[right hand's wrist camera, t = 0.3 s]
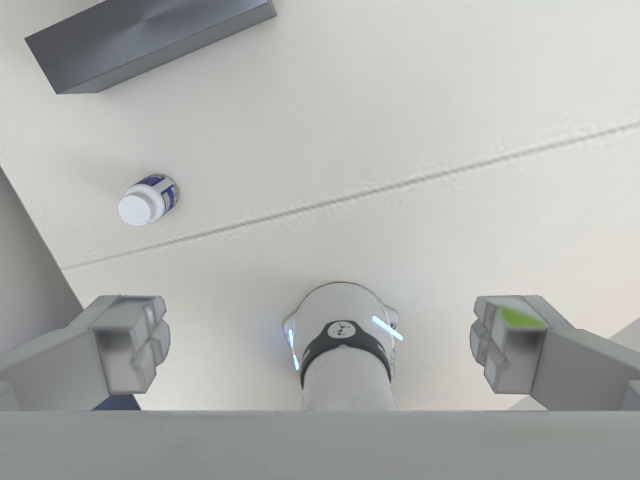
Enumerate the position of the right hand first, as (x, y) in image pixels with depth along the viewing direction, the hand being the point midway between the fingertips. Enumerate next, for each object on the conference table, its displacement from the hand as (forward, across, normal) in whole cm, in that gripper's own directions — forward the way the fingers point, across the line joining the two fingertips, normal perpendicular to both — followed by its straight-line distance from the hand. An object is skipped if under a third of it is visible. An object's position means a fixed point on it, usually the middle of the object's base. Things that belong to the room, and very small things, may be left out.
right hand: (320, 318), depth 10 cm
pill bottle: (+46, -23, -8) cm, 52 cm away
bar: (+46, -18, +12) cm, 51 cm away
